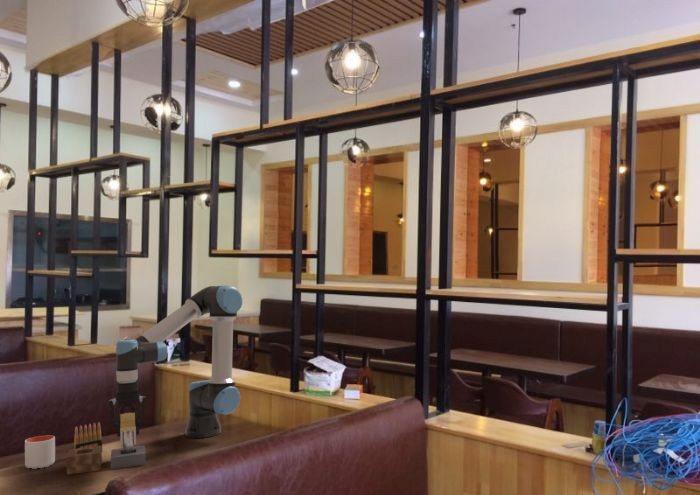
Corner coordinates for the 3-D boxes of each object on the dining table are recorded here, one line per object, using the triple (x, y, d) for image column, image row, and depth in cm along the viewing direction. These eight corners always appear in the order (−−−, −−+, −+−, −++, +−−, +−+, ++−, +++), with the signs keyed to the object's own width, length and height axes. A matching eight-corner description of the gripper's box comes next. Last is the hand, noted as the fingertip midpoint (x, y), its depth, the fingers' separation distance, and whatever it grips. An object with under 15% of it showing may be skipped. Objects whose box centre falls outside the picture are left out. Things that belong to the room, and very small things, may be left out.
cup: (34, 471, 219) (34, 443, 220) (19, 467, 225) (19, 440, 225) (60, 463, 228) (60, 437, 228) (45, 460, 233) (45, 434, 234)
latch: (135, 424, 225) (134, 412, 225) (135, 430, 215) (135, 417, 216) (120, 426, 223) (120, 413, 223) (120, 432, 214) (120, 419, 214)
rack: (101, 461, 228) (101, 445, 229) (100, 470, 218) (100, 453, 218) (69, 465, 225) (69, 449, 225) (66, 474, 214) (66, 457, 215)
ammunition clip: (75, 458, 235) (74, 426, 235) (73, 457, 236) (72, 426, 237) (102, 452, 242) (102, 421, 243) (100, 451, 244) (100, 421, 244)
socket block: (144, 456, 234) (144, 418, 235) (145, 464, 223) (145, 425, 224) (111, 460, 230) (111, 422, 231) (110, 469, 219) (110, 429, 220)
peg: (134, 460, 229) (133, 422, 230) (134, 462, 225) (133, 424, 226) (123, 461, 228) (122, 423, 228) (122, 464, 224) (122, 426, 225)
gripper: (150, 377, 235) (151, 439, 233) (103, 381, 229) (104, 444, 227) (151, 380, 228) (152, 443, 226) (102, 385, 222) (103, 449, 220)
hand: (128, 444), depth 227 cm, fingers closed on peg, 4 cm apart
